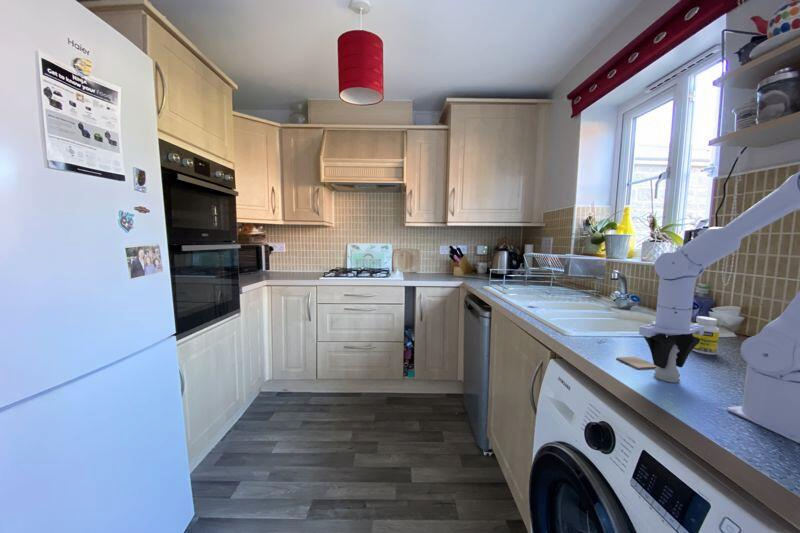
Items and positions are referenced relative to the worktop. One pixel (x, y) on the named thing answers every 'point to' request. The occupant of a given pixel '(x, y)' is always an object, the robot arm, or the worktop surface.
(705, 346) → the supplement bottle
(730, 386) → the worktop surface
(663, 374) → the rook chess piece
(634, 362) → the walnut tile
